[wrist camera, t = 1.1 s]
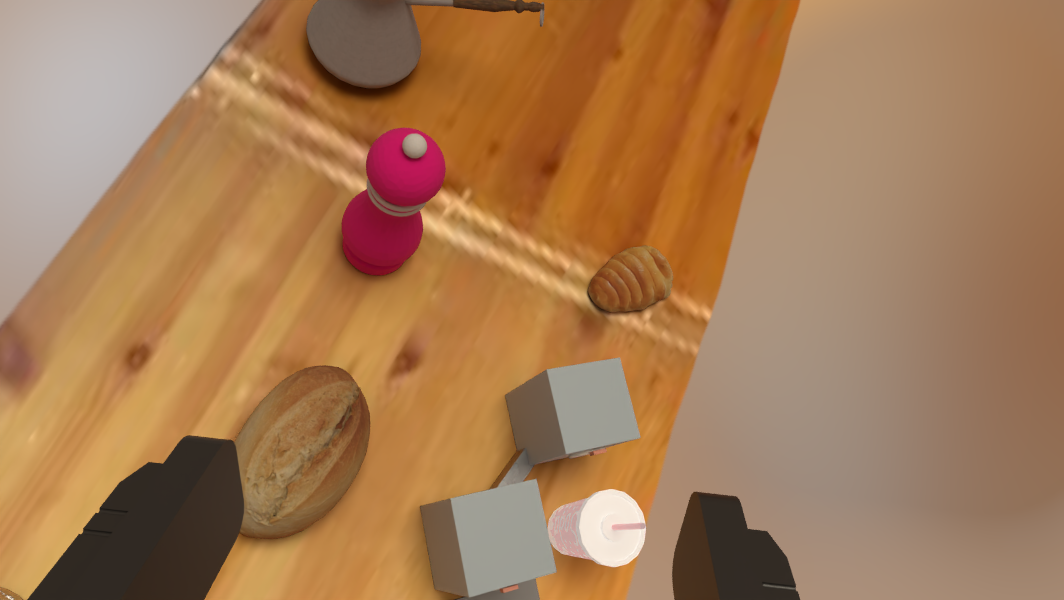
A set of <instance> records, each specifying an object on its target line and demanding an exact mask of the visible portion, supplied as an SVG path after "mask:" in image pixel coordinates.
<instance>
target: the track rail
mask: <svg viewBox="0 0 1064 600" xmlns="http://www.w3.org/2000/svg"><path fill="white" fill-rule="evenodd" d="M534 465H535V464H532V465H529V461H528V456H527V452H526V448H523V449H520V450H518V451H516V453H515V454H514V456H513V457H512V458H511V460H510V461H509V463H508V464H507V465H506V467H505V468H504V469H503V471H502V472H501V474H500V475H499V476H498V478H497V479H496V481H495V482H494V483H493V485H492V486H491V488H490V489H494V488H499V487H503V486H507V485H512V484H516V483H520V482H523V481H524V479H525V478H526V476H527V475H528V473H529V472H530V471H531V469H532V468H533V466H534ZM490 489H489V490H490Z"/></svg>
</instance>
